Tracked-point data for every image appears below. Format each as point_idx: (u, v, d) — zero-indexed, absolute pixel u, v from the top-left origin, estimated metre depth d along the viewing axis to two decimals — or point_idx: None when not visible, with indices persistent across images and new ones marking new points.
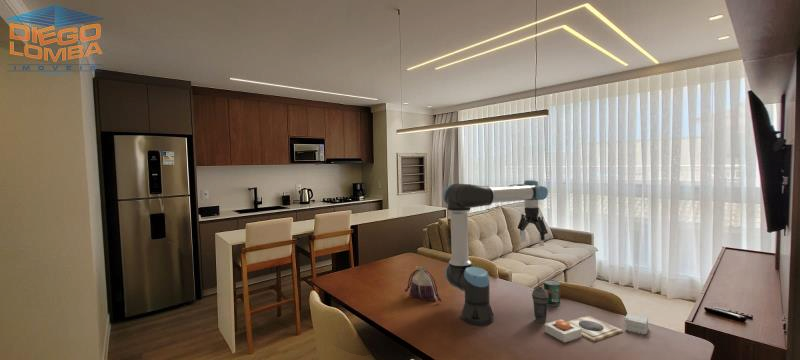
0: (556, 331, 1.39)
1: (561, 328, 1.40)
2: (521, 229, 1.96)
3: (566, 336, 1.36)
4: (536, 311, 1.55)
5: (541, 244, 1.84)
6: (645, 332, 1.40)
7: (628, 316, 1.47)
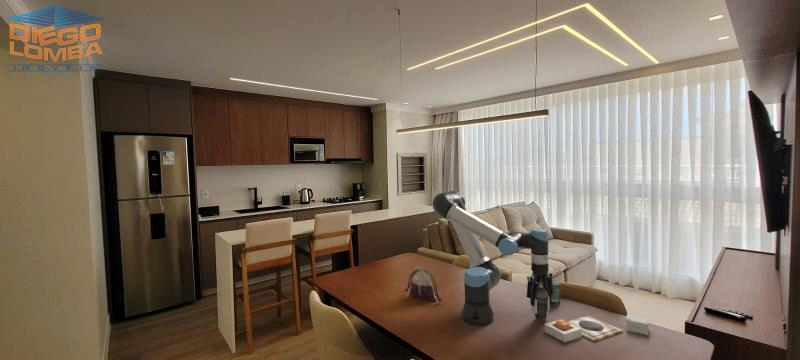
0: (556, 331, 1.39)
1: (561, 328, 1.40)
2: None
3: (566, 336, 1.36)
4: None
5: (532, 310, 1.54)
6: (647, 332, 1.40)
7: (629, 317, 1.46)
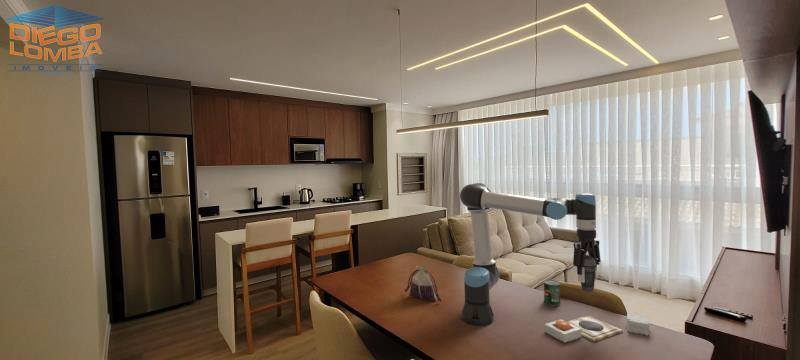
0: (556, 331, 1.39)
1: (561, 328, 1.40)
2: None
3: (566, 336, 1.36)
4: None
5: (579, 279, 1.45)
6: (648, 333, 1.39)
7: (629, 317, 1.46)
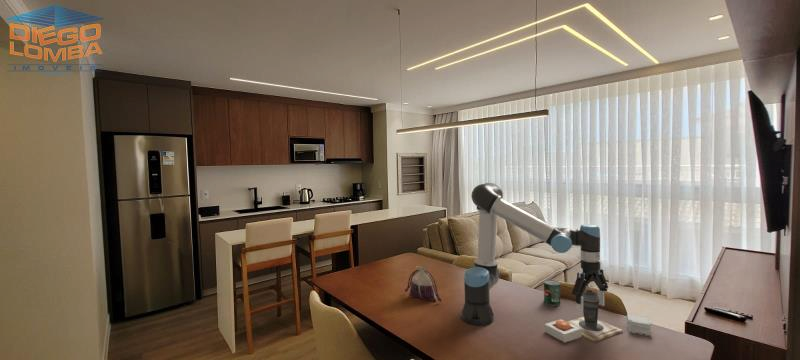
0: (556, 331, 1.39)
1: (561, 328, 1.40)
2: None
3: (566, 336, 1.36)
4: (586, 316, 1.45)
5: (578, 308, 1.44)
6: (649, 333, 1.39)
7: (630, 318, 1.45)
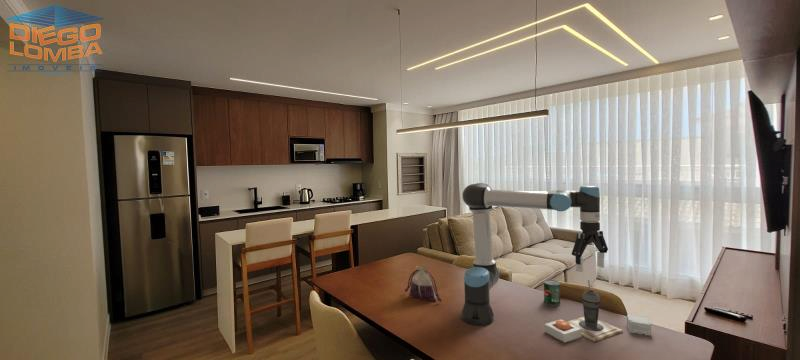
0: (556, 331, 1.39)
1: (561, 328, 1.40)
2: (598, 250, 1.49)
3: (566, 336, 1.36)
4: (587, 316, 1.45)
5: (578, 269, 1.43)
6: (650, 333, 1.39)
7: (630, 318, 1.45)
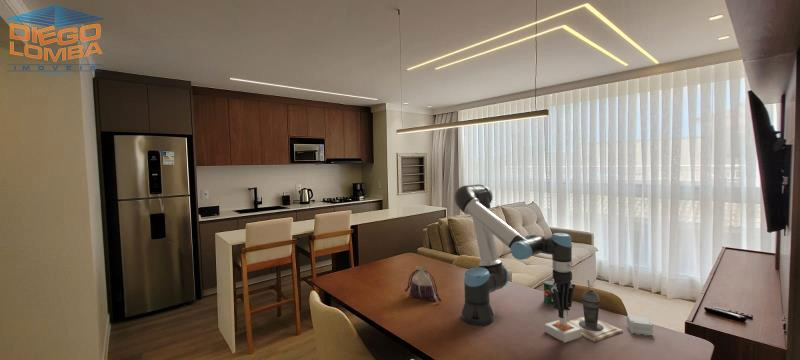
0: (556, 331, 1.39)
1: (561, 329, 1.40)
2: None
3: (566, 336, 1.36)
4: (587, 316, 1.45)
5: (561, 322, 1.42)
6: (651, 333, 1.39)
7: (631, 318, 1.44)
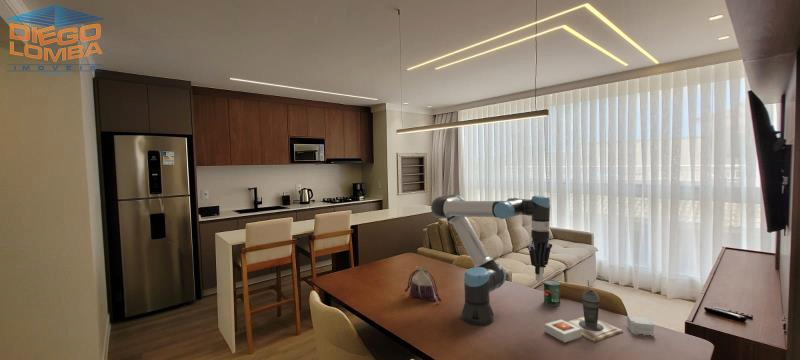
0: (556, 331, 1.39)
1: None
2: None
3: (566, 336, 1.36)
4: (587, 316, 1.45)
5: (537, 278, 1.51)
6: (652, 333, 1.39)
7: (632, 319, 1.44)
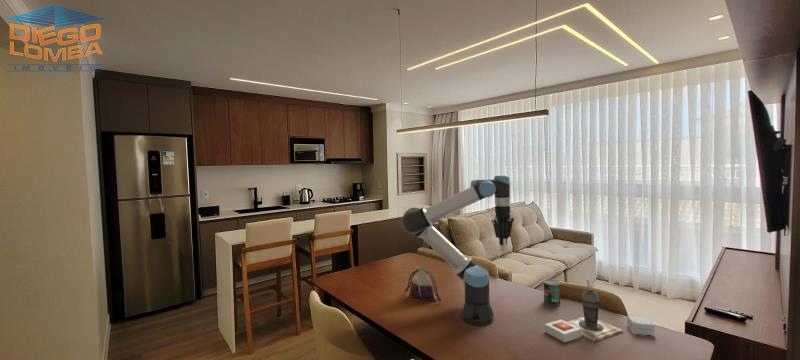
0: (556, 331, 1.39)
1: None
2: None
3: (566, 336, 1.36)
4: (586, 316, 1.45)
5: (501, 249, 1.70)
6: (653, 333, 1.39)
7: (632, 319, 1.44)
